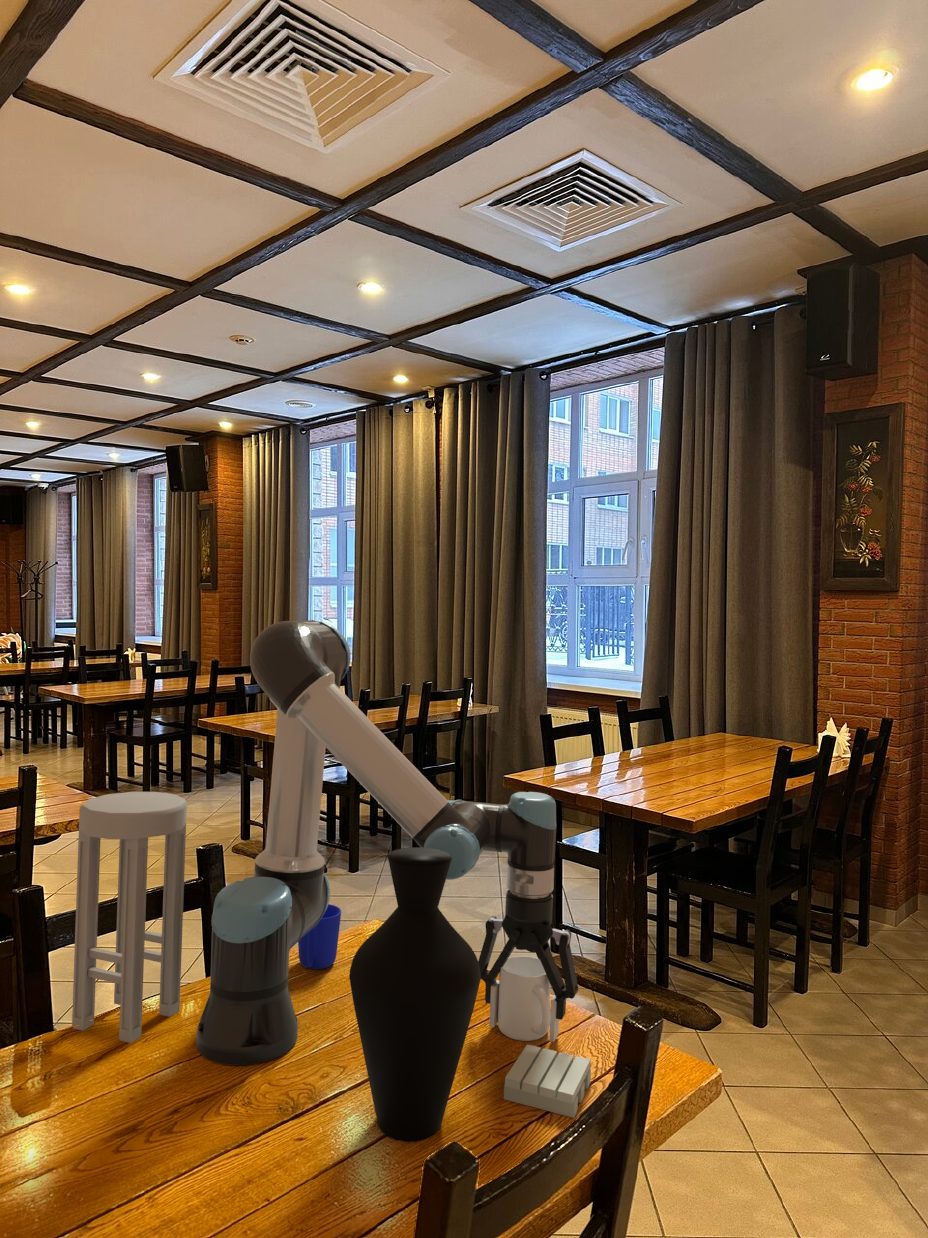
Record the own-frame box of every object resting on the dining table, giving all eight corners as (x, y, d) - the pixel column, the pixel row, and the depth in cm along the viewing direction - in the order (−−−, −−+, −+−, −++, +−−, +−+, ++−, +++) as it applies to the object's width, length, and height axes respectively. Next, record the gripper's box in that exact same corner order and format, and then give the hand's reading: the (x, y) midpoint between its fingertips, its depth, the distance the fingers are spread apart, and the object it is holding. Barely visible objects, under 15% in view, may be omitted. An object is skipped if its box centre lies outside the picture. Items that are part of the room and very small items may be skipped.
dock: (502, 1100, 117) (503, 1077, 117) (525, 1065, 126) (525, 1044, 126) (573, 1119, 113) (574, 1095, 113) (590, 1081, 122) (591, 1059, 122)
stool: (122, 990, 145) (129, 787, 145) (197, 1008, 140) (205, 797, 140) (51, 1031, 131) (58, 805, 130) (131, 1052, 125) (140, 817, 125)
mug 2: (569, 1049, 131) (572, 983, 131) (522, 1058, 128) (525, 990, 128) (533, 1014, 142) (535, 953, 142) (488, 1021, 139) (491, 959, 139)
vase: (355, 1082, 120) (364, 836, 120) (475, 1089, 119) (485, 841, 119) (332, 1160, 103) (343, 873, 103) (473, 1168, 102) (484, 880, 102)
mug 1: (280, 979, 152) (282, 924, 152) (304, 953, 164) (306, 901, 164) (324, 984, 151) (326, 928, 151) (344, 957, 163) (346, 905, 162)
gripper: (457, 886, 136) (451, 1025, 136) (591, 910, 128) (585, 1057, 128) (474, 874, 143) (468, 1006, 143) (602, 895, 135) (596, 1035, 135)
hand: (523, 1030), depth 136 cm, fingers closed on mug 2, 9 cm apart
